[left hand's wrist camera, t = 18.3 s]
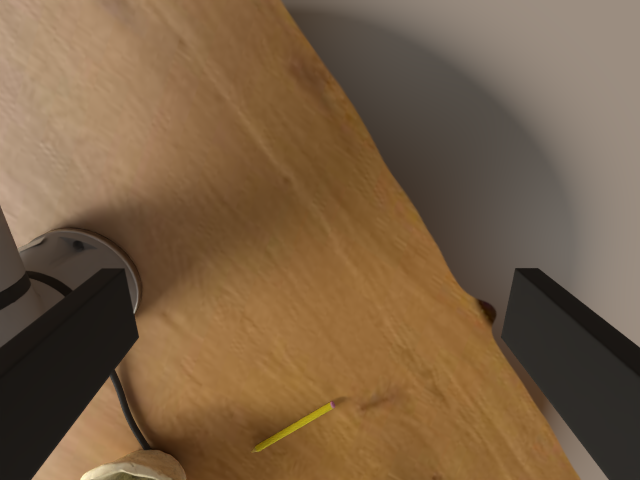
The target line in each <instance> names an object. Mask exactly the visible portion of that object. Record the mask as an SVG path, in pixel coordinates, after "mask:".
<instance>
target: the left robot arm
mask: <svg viewBox="0 0 640 480" xmlns="http://www.w3.org/2000/svg"><path fill="white" fill-rule="evenodd" d="M141 297H142V285H141V280H140V277H139V274H138V271H137V269H136V267H135V265H134V264H133V262H132V261H131V259H130V258H129V257H128V255H127V254H126V253H125V252H124V251H123V250H122V249H121V248H120V247H119V246H117V245H116V244H115V243H113V242H112V241H110V240H109V239H107V238H105V237H103V236H101V235H99V234H97V233H94V232H91V231H88V230H83V229H77V228H62V229H56V230H53V231H50V232H47V233H45V234H43V235H41V236H39V237H37V238H35V239H34V240H32V241H31V242H30V243H28V244H27V245H24V246H22V247H20V248H19V249H17V246H16V244H15V241H14V239H13V236H12V234H11V231H10V229H9V226H8V224H7V221H6V219H5V216H4V214H3V211H2V209H1V206H0V480H31V479H32V478H33V477H34V475H35V474H36V473H37V471H38V470H39V469H40V467H41V466H42V465H43V463H44V462H45V461H46V459H47V458H48V457H49V455H50V454H51V453H52V451H53V450H54V449H55V447H56V446H57V445H58V444H59V442H60V441H61V440H62V438H63V437H64V436H65V434H66V433H67V432H68V430H69V429H70V428H71V426H72V425H73V424H74V422H75V421H76V420H77V418H78V417H79V416H80V414H81V413H82V412H83V410H84V409H85V408H86V407H87V405H88V404H89V403H90V401H91V400H92V399H93V397H94V396H95V395H96V393H97V392H98V391H99V389H100V388H101V387H102V385H103V384H104V383H105V381H106V380H107V379H108V377H109V376H110V378H111V380H112V382H113V384H114V387H115V389H116V392H117V395H118V398H119V401H120V404H121V407H122V410H123V413H124V415H125V418H126V420H127V422H128V424H129V426H130V428H131V430H132V432H133V433H134V435H135V437H136V438H137V440H138V441H139V443H140V444H141V446H142V447H143V449H144V450H151V448H150V446H149V444H148V443H147V441H146V440H145V438H144V437H143V435H142V433H141V432H140V430H139V428H138V427H137V425H136V423H135V421H134V419H133V417H132V414H131V412H130V409H129V407H128V404H127V401H126V397H125V394H124V391H123V388H122V386H121V383H120V380H119V378H118V376H117V374H116V372H115V368H116V367H117V366H118V364H119V363H120V362H121V360H122V359H123V358H124V356H125V355H126V354H127V352H128V351H129V350H130V348H131V347H132V346H133V344H134V343H135V342H136V340H137V339H138V338H139V335H138V330H137V326H136V321H135V316H134V314H135V313H136V311H137V309H138V307H139V305H140V302H141ZM501 338H502V339H503V340H504V342H505V343H506V344H507V346H508V347H509V348H510V350H511V351H512V352H513V354H514V355H515V356H516V358H517V359H518V360H519V362H520V363H521V364H522V366H523V367H524V368H525V370H526V371H527V372H528V374H529V375H530V376H531V377H532V379H533V380H534V381H535V383H536V384H537V385H538V387H539V388H540V389H541V391H542V392H543V393H544V395H545V396H546V397H547V399H548V400H549V401H550V403H551V404H552V405H553V407H554V408H555V409H556V411H557V412H558V413H559V414H560V416H561V417H562V418H563V420H564V421H565V422H566V424H567V425H568V426H569V428H570V429H571V430H572V432H573V433H574V434H575V436H576V437H577V438H578V440H579V441H580V442H581V444H582V445H583V446H584V447H585V449H586V450H587V451H588V453H589V454H590V455H591V457H592V458H593V459H594V461H595V462H596V463H597V465H598V466H599V467H600V469H601V470H602V471H603V473H604V474H605V475H606V476H607V478H608V479H609V480H640V347H638V346H637V345H636V344H635V343H633V342H632V341H631V340H629V339H628V338H627V337H626V336H624V335H623V334H622V333H620V332H619V331H618V330H617V329H615V328H614V327H613V326H611V325H610V324H609V323H608V322H606V321H605V320H604V319H603V318H601V317H600V316H599V315H597V314H596V313H595V312H593V311H592V310H591V309H590V308H588V307H587V306H586V305H585V304H583V303H582V302H581V301H579V300H578V299H577V298H576V297H574V296H573V295H572V294H570V293H569V292H568V291H567V290H565V289H564V288H563V287H561V286H560V285H559V284H558V283H556V282H555V281H554V280H553V279H551V278H550V277H549V276H547V275H546V274H545V273H544V272H542V271H541V270H540V269H538V268H516V269H515V272H514V277H513V282H512V287H511V292H510V297H509V301H508V306H507V311H506V316H505V321H504V326H503V330H502V335H501Z"/></svg>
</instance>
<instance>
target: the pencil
mask: <svg viewBox="0 0 640 480" xmlns="http://www.w3.org/2000/svg"><path fill="white" fill-rule="evenodd" d="M333 408H335V404H334V402H333V401H331V402H329V403H328V404H326V405H324V406H323V407H321V408H319V409H317V410H316V411H314V412H312V413H311V414H309V415H307V416H305V417H304V418H302V419H300V420H299V421H297V422H295V423H294V424H292V425H290V426H288V427H287V428H285V429H283V430H282V431H280V432H278V433H276V434H275V435H273V436H271V437H270V438H268V439H266V440H264V441H263V442H261V443H259V444H258V445H256V446H255V447H254V449H253V450H252V451H251V452H259V451H260V450H262V449H264V448H266V447H267V446H269V445H271V444H273V443H274V442H276V441H278V440H279V439H281V438H283V437H285V436H286V435H288V434H290V433H292V432H293V431H295V430H297V429H298V428H300V427H302V426H304V425H305V424H307V423H309V422H311V421H312V420H314V419H316V418H317V417H319V416H321V415H323V414H324V413H326V412H328V411H330V410H331V409H333ZM251 452H250V453H251Z"/></svg>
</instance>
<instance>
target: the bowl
mask: <svg viewBox="0 0 640 480" xmlns="http://www.w3.org/2000/svg"><path fill="white" fill-rule="evenodd" d="M80 480H186V474H185V472H184V469H183V468H182V466H181V465H180V463H179V462H178V460H176V459H175V458H174V457H173V456H171V455H170V454H166V453H164V452H162V451H160V450H139V451H135V452H132V453H130V454H128V455H126V456H124V457H122V458H119V459H117V460H116V461H114V462H111V463H105V464H103V465H100V466H98V467H96V468H94V469H92V470H90V471H88V472H86V473H85V474H84V475H83V477H82V478H81V479H80Z"/></svg>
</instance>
